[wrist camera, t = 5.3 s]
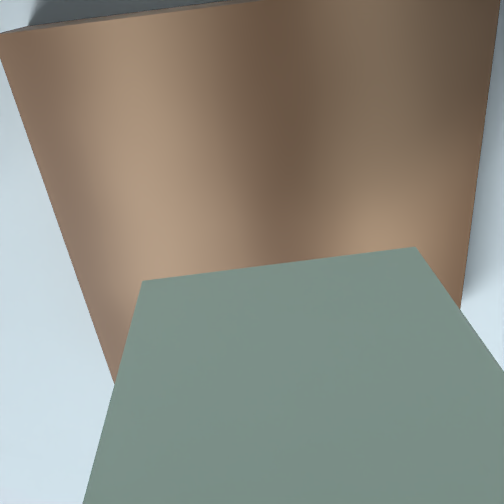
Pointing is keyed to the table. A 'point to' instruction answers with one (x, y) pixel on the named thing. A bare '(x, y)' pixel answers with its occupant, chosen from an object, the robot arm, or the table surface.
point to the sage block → (303, 390)
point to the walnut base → (254, 137)
